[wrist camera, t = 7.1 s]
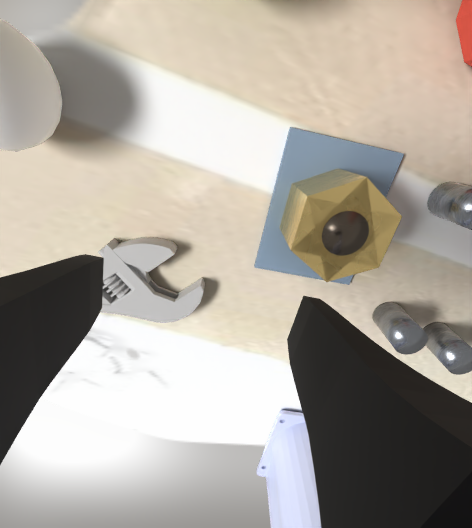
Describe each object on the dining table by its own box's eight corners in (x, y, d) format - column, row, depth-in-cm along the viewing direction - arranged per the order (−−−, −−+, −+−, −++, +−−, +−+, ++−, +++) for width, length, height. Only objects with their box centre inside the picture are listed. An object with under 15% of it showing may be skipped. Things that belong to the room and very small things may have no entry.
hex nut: (343, 261, 20) (368, 290, 16) (273, 248, 19) (283, 274, 16) (376, 176, 17) (415, 188, 14) (298, 159, 17) (317, 166, 13)
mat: (347, 282, 21) (349, 284, 20) (254, 265, 20) (254, 267, 20) (401, 153, 17) (404, 153, 17) (289, 127, 16) (290, 127, 16)
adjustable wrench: (-96, 340, 23) (-121, 356, 22) (-151, 270, 21) (-184, 281, 19) (207, 306, 22) (205, 320, 20) (191, 226, 19) (187, 235, 18)
